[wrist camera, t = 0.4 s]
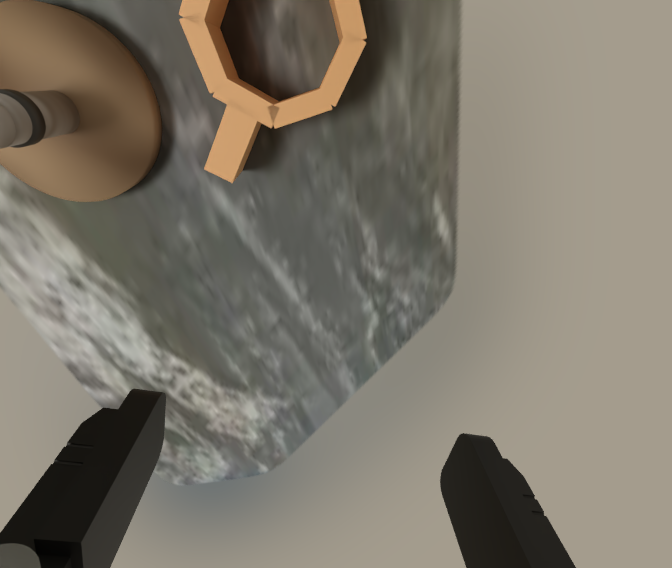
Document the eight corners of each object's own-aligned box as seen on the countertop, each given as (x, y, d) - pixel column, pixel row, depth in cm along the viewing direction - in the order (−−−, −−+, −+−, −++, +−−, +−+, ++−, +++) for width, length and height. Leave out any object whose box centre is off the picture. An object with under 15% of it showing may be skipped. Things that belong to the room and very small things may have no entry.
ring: (236, -106, 19) (221, -140, 16) (383, -2, 22) (394, -15, 19) (165, 131, 25) (143, 139, 22) (289, 194, 27) (285, 209, 24)
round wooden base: (-17, -41, 20) (-202, -106, 13) (183, 70, 23) (122, 67, 16) (-32, 148, 25) (-175, 177, 18) (138, 221, 28) (74, 272, 20)
